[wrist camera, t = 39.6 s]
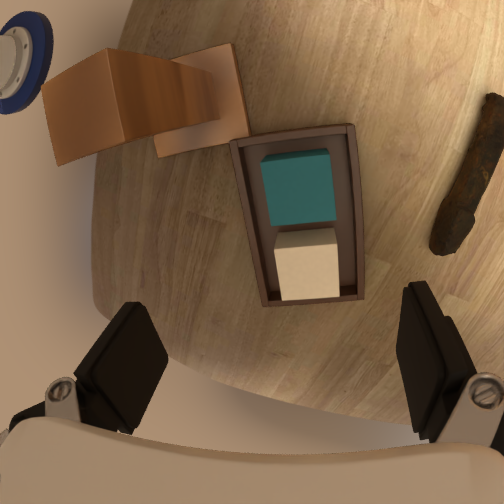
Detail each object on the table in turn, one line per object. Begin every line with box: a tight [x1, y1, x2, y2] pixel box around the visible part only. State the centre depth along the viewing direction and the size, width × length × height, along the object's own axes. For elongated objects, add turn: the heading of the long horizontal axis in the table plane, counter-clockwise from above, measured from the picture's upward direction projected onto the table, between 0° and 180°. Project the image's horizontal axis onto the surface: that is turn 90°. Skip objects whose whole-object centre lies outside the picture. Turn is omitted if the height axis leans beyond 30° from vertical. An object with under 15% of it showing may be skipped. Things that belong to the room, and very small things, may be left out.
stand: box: [41, 43, 251, 166], centre depth 20 cm, size 10×10×18 cm
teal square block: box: [260, 148, 337, 226], centre depth 28 cm, size 6×6×4 cm
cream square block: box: [274, 228, 340, 301], centre depth 31 cm, size 6×6×4 cm
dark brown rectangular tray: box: [229, 123, 365, 307], centre depth 31 cm, size 12×19×2 cm, turn 11°
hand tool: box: [429, 93, 504, 256], centre depth 24 cm, size 19×4×5 cm, turn 159°
